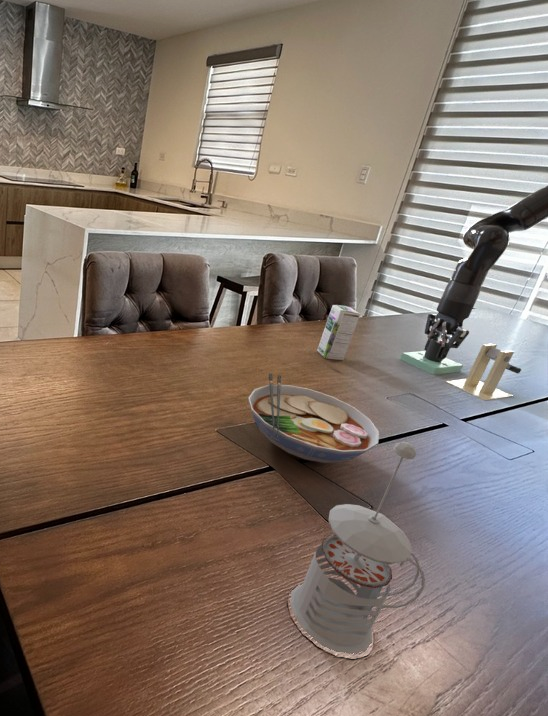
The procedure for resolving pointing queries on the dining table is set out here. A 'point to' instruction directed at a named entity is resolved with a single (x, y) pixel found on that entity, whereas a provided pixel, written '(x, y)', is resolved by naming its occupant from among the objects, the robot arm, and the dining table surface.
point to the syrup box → (338, 332)
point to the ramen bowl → (311, 423)
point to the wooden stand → (488, 387)
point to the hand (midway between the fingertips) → (433, 354)
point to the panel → (431, 363)
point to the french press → (353, 574)
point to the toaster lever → (493, 355)
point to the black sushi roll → (433, 350)
